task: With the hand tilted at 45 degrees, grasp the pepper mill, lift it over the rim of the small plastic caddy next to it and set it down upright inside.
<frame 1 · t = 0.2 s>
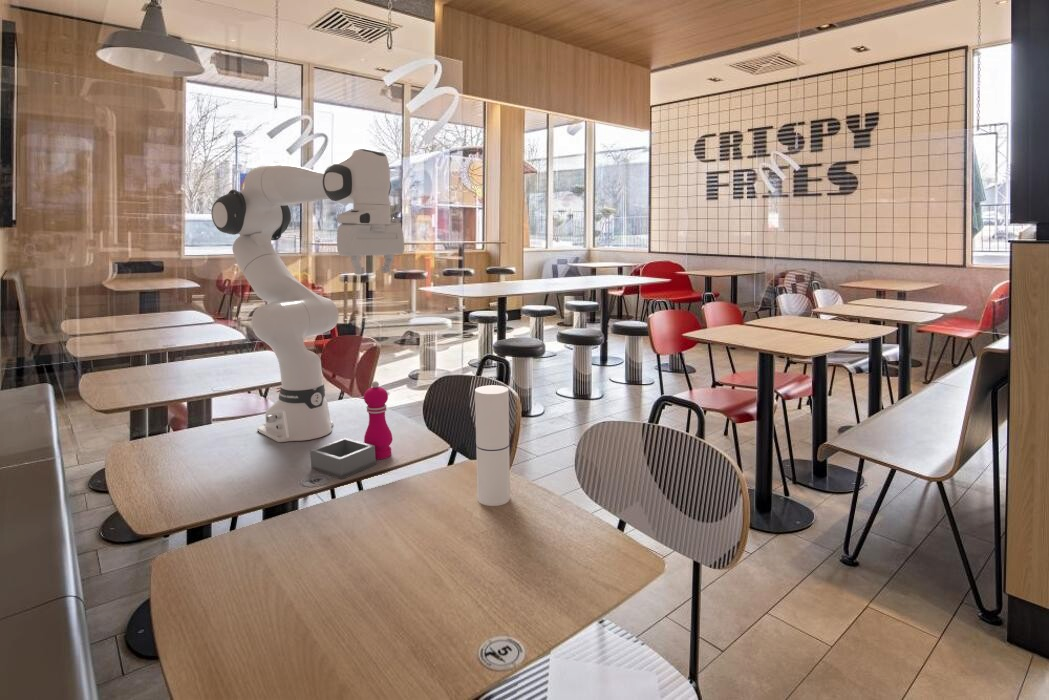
hand: (373, 273, 159), 47 cm above the table, tool pointing down, fingers open, 8 cm apart
caddy: (344, 466, 159), on the table
cylindrical container: (493, 499, 141), on the table
pepper mill: (379, 455, 167), on the table
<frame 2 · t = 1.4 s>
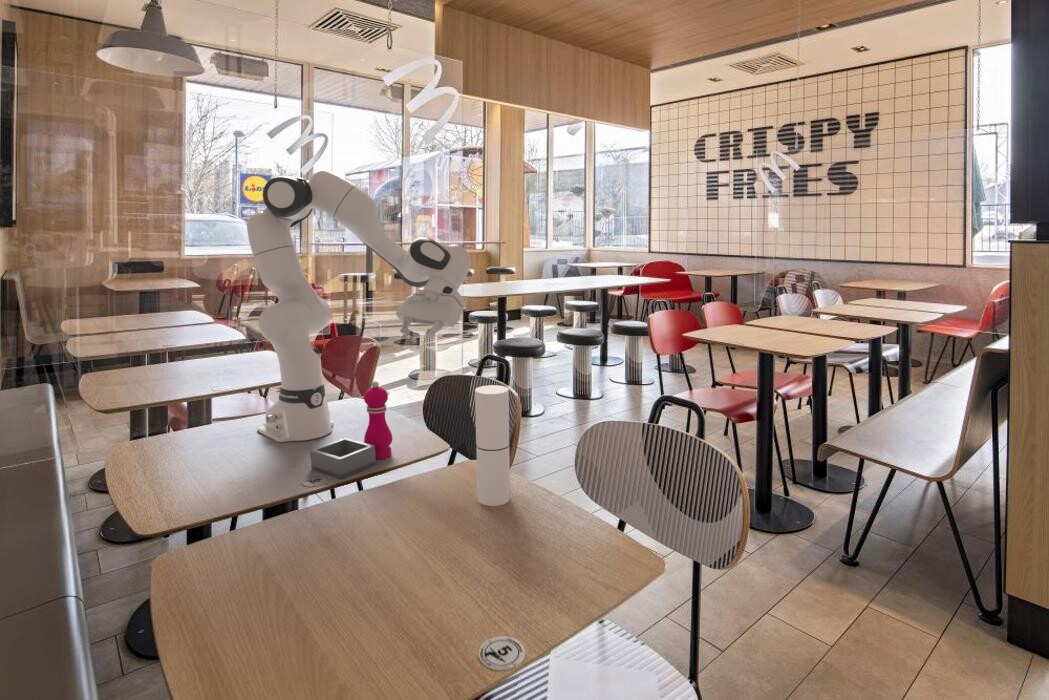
hand: (415, 334, 174), 30 cm above the table, tool tilted 45°, fingers open, 8 cm apart
nothing on the table moved.
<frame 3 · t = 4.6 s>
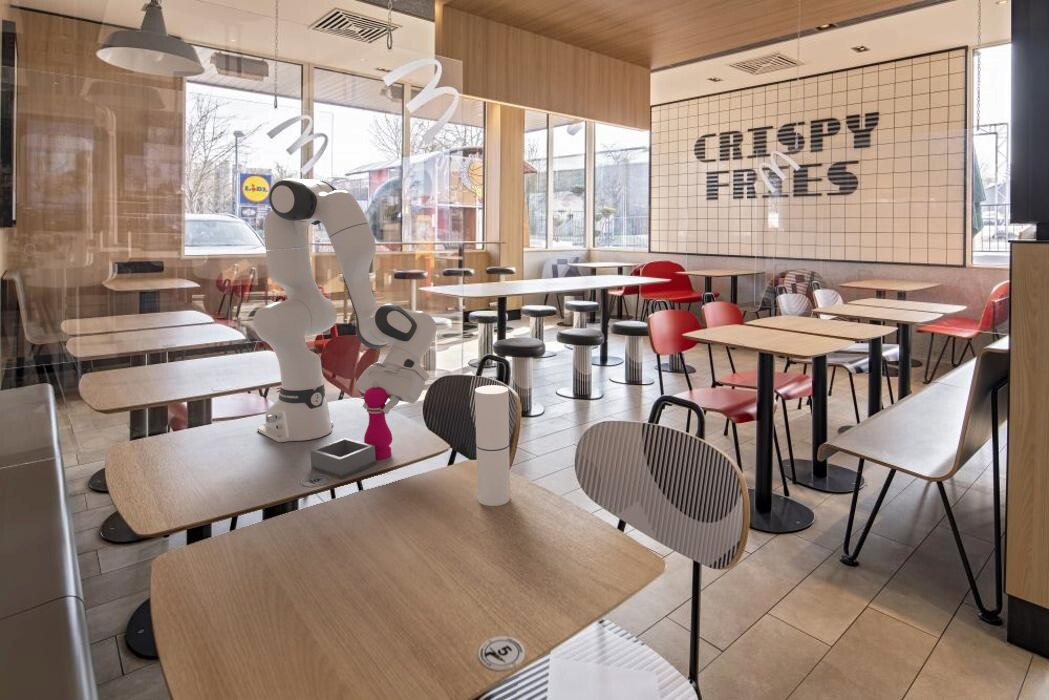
hand: (374, 410, 164), 12 cm above the table, tool tilted 45°, fingers closed on pepper mill, 5 cm apart
pepper mill: (379, 455, 167), on the table, touching gripper
everything else where it was.
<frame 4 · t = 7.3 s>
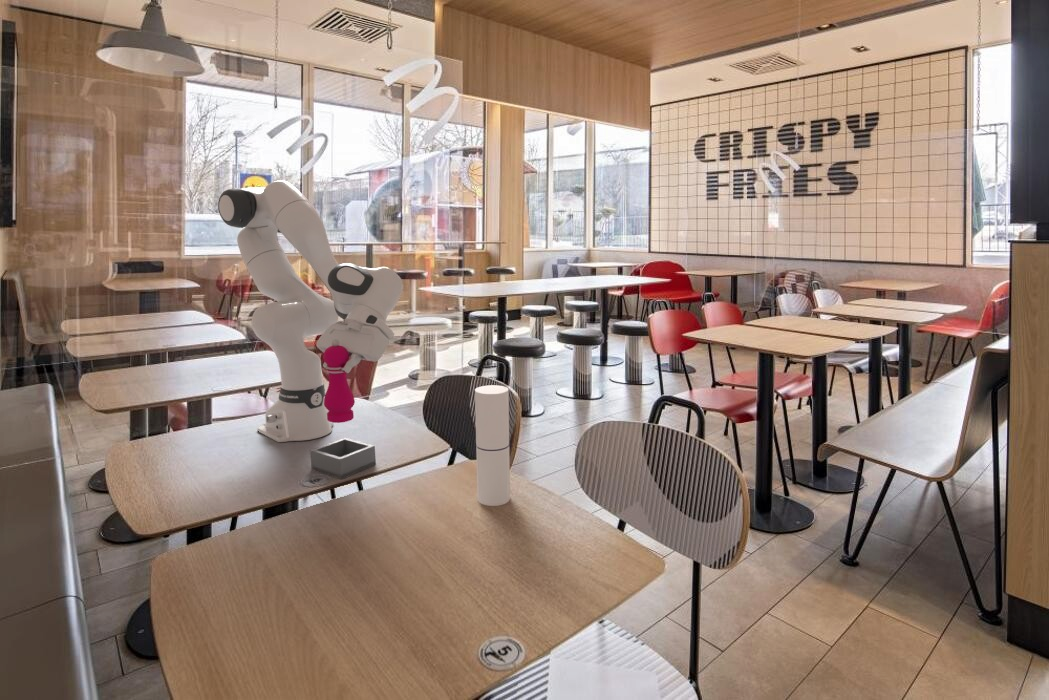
hand: (335, 369, 154), 25 cm above the table, tool tilted 45°, fingers closed on pepper mill, 5 cm apart
pepper mill: (340, 419, 157), point 12 cm above the table, touching gripper
everything else where it was.
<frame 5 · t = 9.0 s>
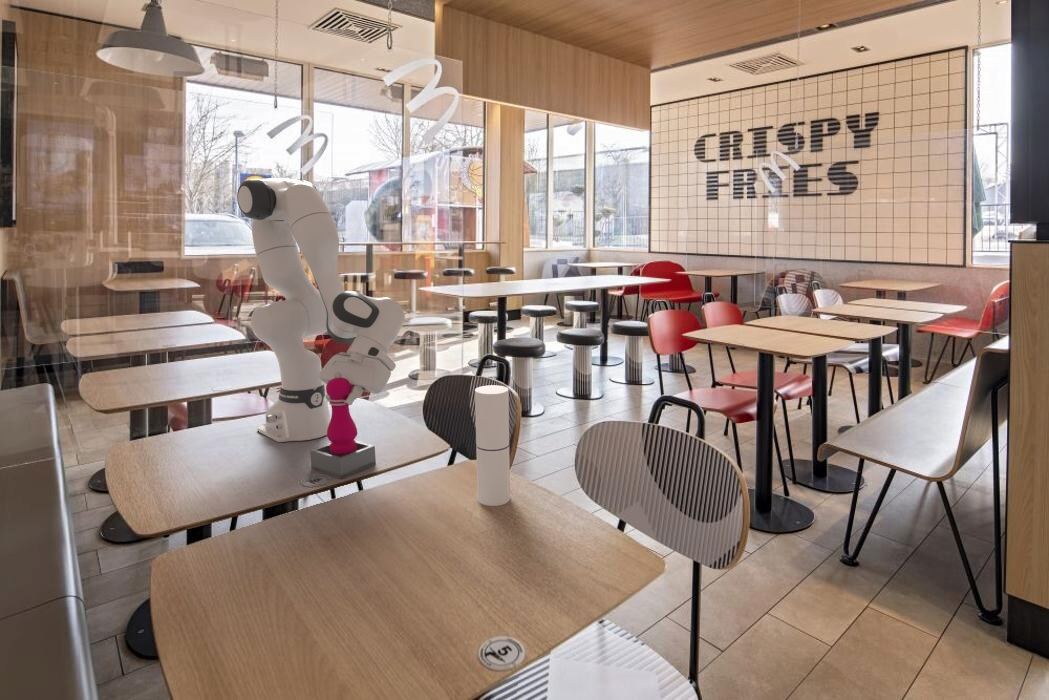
hand: (337, 401, 155), 17 cm above the table, tool tilted 45°, fingers closed on pepper mill, 5 cm apart
pepper mill: (343, 450, 158), point 4 cm above the table, touching gripper
everything else where it was.
when the fingers open (15 cm above the table, at t = 10.2 s): pepper mill drops 1 cm, resting on caddy.
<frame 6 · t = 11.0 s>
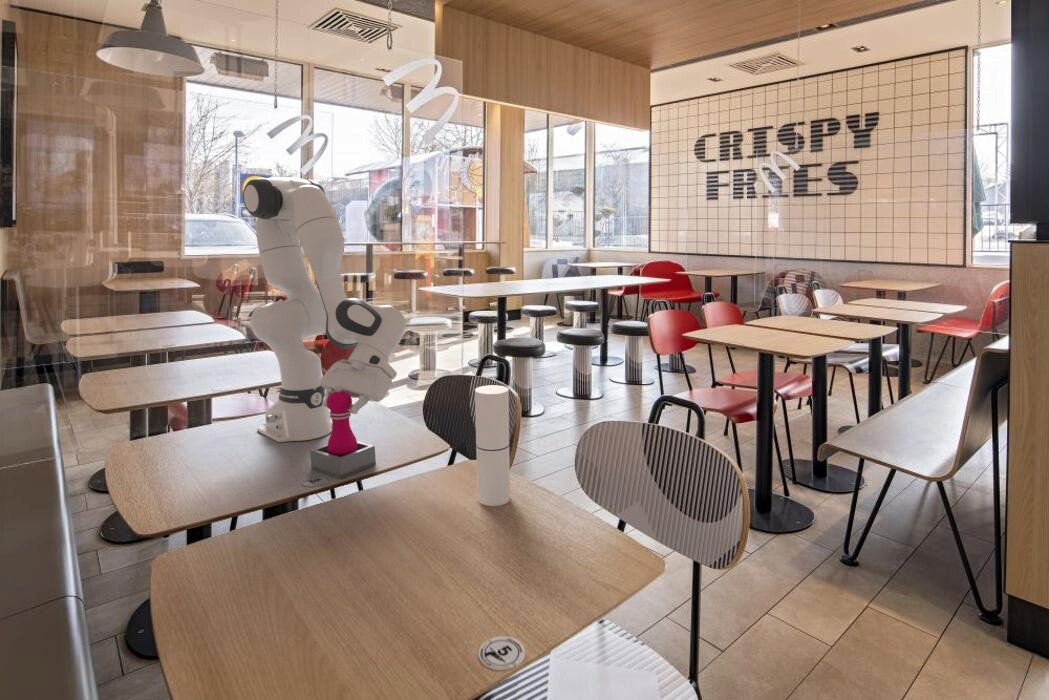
hand: (338, 409, 156), 15 cm above the table, tool tilted 45°, fingers open, 8 cm apart
pepper mill: (343, 463, 159), point 1 cm above the table, touching caddy
everything else where it was.
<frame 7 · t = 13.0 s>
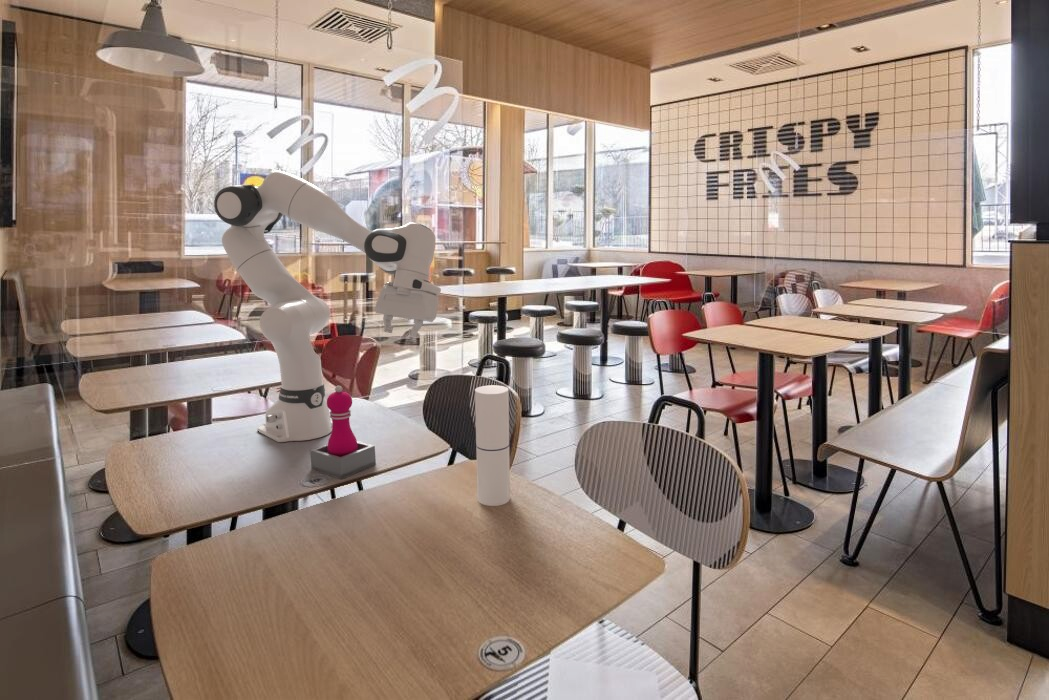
hand: (399, 334, 169), 31 cm above the table, tool tilted 20°, fingers open, 8 cm apart
nothing on the table moved.
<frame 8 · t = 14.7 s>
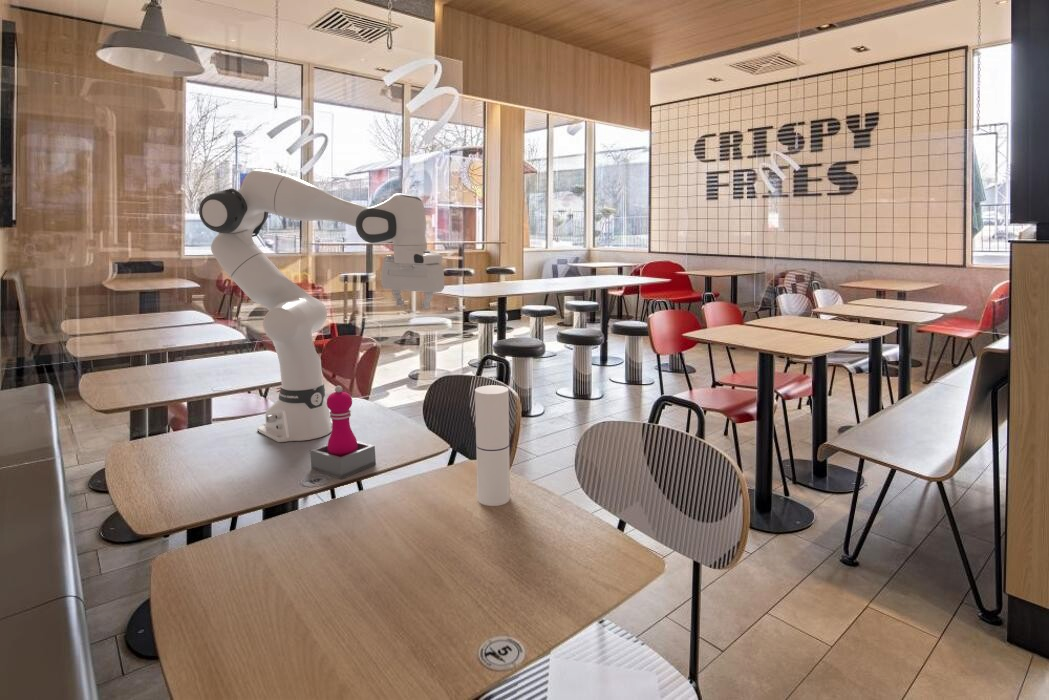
hand: (412, 307, 173), 37 cm above the table, tool pointing down, fingers open, 8 cm apart
nothing on the table moved.
at the end: pepper mill 0.0 cm off-centre on the caddy, point 0.8 cm above the caddy's base; pepper mill tilted 0°; the gripper is holding nothing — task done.
